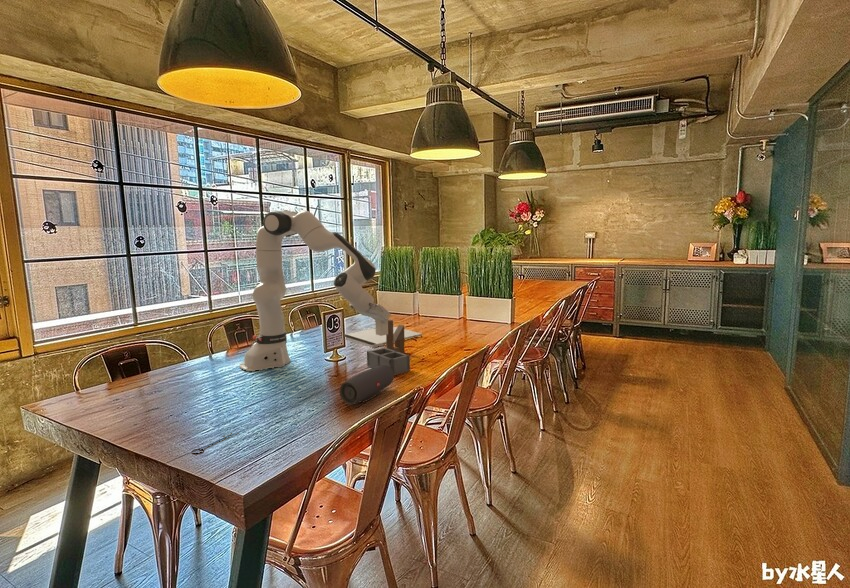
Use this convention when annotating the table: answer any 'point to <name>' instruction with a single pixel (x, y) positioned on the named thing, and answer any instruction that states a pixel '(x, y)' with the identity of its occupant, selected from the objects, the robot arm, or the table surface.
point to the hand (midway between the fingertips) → (382, 321)
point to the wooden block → (395, 338)
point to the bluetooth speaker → (366, 384)
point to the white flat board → (375, 337)
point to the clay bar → (381, 327)
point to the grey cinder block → (389, 360)
